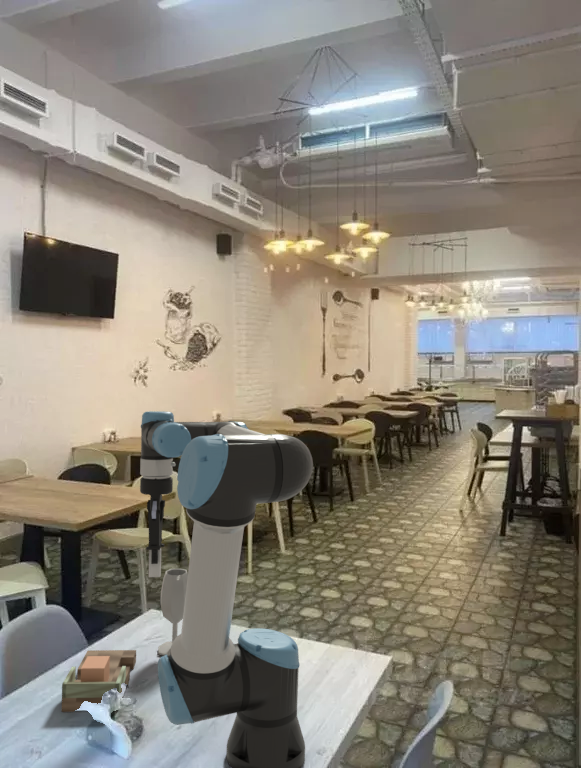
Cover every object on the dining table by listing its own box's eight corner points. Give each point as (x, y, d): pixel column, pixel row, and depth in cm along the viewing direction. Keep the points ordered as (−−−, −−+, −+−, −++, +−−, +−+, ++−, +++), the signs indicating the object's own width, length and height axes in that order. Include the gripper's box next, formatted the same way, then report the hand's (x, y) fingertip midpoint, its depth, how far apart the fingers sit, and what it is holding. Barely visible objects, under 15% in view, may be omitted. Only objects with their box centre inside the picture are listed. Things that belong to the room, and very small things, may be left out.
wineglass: (194, 645, 168) (196, 567, 168) (186, 659, 159) (188, 578, 159) (163, 642, 169) (165, 565, 168) (153, 657, 160) (155, 576, 160)
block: (103, 690, 137) (104, 668, 137) (80, 691, 136) (80, 668, 136) (109, 677, 143) (109, 655, 142) (86, 677, 142) (87, 656, 142)
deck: (118, 710, 134) (119, 683, 134) (61, 711, 133) (62, 684, 133) (135, 661, 157) (136, 638, 157) (87, 662, 156) (87, 638, 156)
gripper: (171, 480, 142) (169, 584, 141) (174, 472, 154) (172, 568, 154) (137, 480, 141) (135, 585, 140) (143, 472, 154) (141, 568, 153)
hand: (154, 576), depth 147 cm, fingers closed
